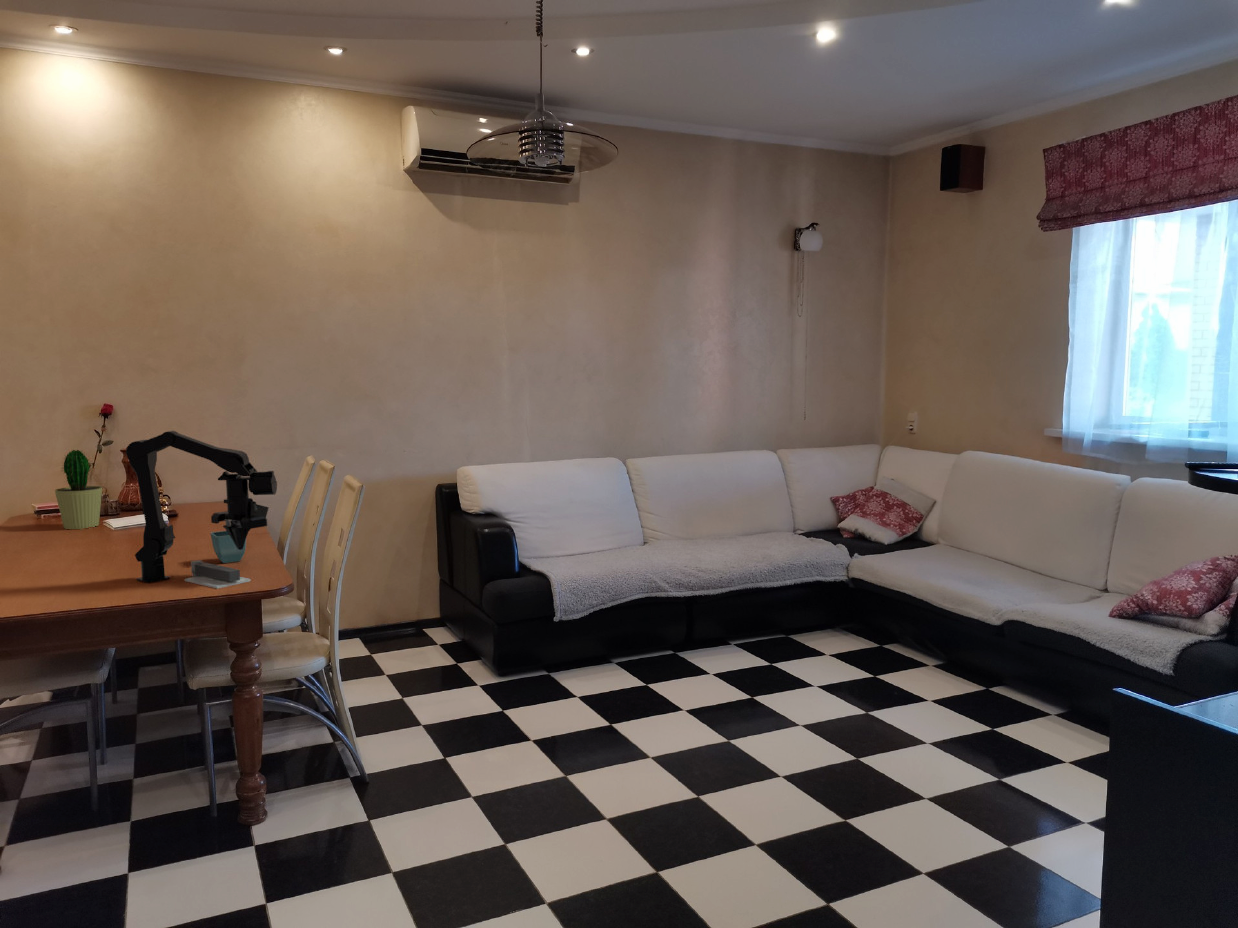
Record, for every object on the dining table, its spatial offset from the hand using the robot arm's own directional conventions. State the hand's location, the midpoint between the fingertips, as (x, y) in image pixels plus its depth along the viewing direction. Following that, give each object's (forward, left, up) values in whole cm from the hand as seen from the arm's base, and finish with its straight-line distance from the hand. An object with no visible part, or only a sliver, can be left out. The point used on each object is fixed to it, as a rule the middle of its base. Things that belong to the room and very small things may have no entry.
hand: (240, 549), depth 253 cm
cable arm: (-2, -7, -7) cm, 10 cm away
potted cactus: (-125, +14, -8) cm, 126 cm away
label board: (-3, -7, -8) cm, 11 cm away
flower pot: (-22, +10, -8) cm, 25 cm away
